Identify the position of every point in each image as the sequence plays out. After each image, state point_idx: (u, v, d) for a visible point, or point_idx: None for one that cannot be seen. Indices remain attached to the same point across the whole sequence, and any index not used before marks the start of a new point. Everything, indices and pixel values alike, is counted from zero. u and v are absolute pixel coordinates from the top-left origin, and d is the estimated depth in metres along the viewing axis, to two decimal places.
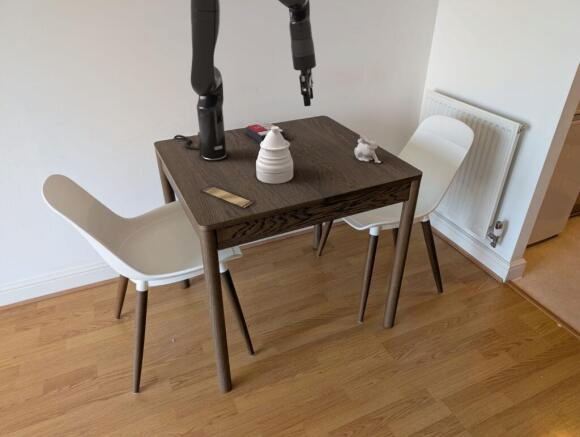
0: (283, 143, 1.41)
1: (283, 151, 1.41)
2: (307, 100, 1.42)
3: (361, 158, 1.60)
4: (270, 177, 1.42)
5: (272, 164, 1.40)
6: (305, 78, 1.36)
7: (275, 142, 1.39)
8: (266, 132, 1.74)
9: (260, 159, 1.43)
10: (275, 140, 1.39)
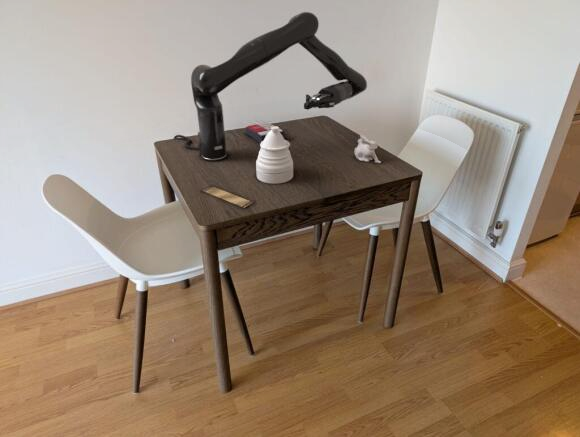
0: (283, 143, 1.41)
1: (283, 151, 1.41)
2: (312, 106, 1.51)
3: (361, 158, 1.60)
4: (270, 177, 1.42)
5: (272, 164, 1.40)
6: (332, 105, 1.54)
7: (275, 142, 1.39)
8: (266, 132, 1.74)
9: (260, 159, 1.43)
10: (275, 140, 1.39)
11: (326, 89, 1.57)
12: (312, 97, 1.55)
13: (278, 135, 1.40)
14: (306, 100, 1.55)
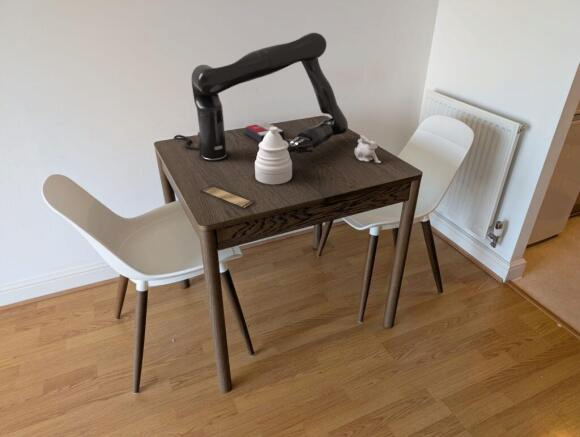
0: (282, 144, 1.40)
1: (282, 152, 1.40)
2: (290, 151, 1.50)
3: (361, 158, 1.60)
4: (269, 178, 1.42)
5: (271, 164, 1.40)
6: (310, 150, 1.52)
7: (274, 143, 1.39)
8: (266, 132, 1.74)
9: (259, 160, 1.42)
10: (274, 141, 1.39)
11: (305, 132, 1.56)
12: (290, 141, 1.53)
13: (277, 136, 1.39)
14: None
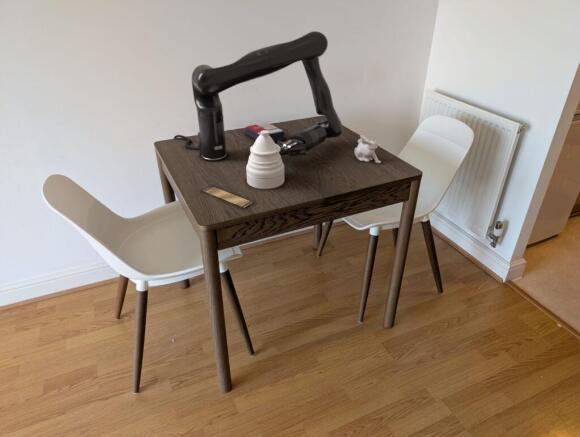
0: (273, 148, 1.37)
1: (273, 156, 1.37)
2: (282, 155, 1.47)
3: (361, 158, 1.60)
4: (260, 182, 1.39)
5: (262, 169, 1.37)
6: (303, 153, 1.49)
7: (265, 147, 1.36)
8: None
9: (250, 164, 1.39)
10: (265, 145, 1.36)
11: (298, 135, 1.53)
12: (283, 144, 1.50)
13: (268, 139, 1.36)
14: None
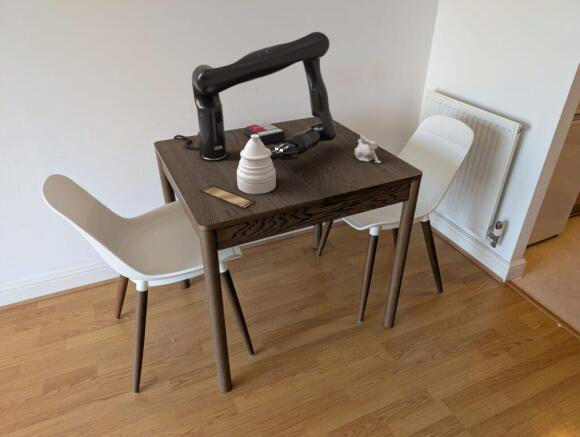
0: (264, 152, 1.34)
1: (264, 160, 1.34)
2: (274, 159, 1.43)
3: (361, 158, 1.60)
4: (250, 187, 1.36)
5: (252, 173, 1.34)
6: (296, 157, 1.45)
7: (255, 151, 1.33)
8: (266, 132, 1.74)
9: (240, 168, 1.36)
10: (255, 149, 1.33)
11: (290, 139, 1.49)
12: (275, 148, 1.47)
13: (258, 144, 1.33)
14: None
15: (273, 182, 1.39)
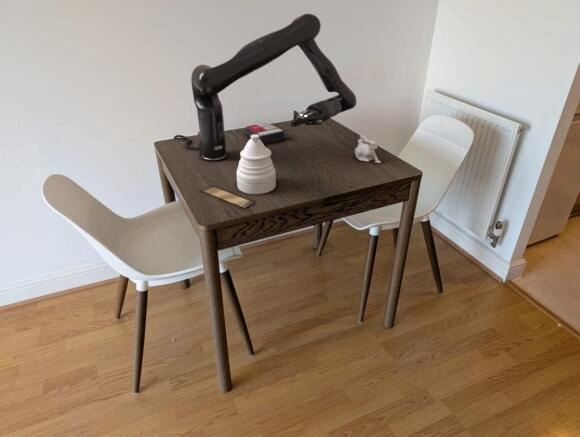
0: (264, 152, 1.34)
1: (263, 160, 1.34)
2: (299, 123, 1.49)
3: (361, 158, 1.60)
4: (250, 187, 1.36)
5: (252, 174, 1.34)
6: (320, 123, 1.51)
7: (255, 151, 1.33)
8: (265, 132, 1.74)
9: (240, 168, 1.36)
10: (255, 149, 1.33)
11: (314, 106, 1.55)
12: (300, 114, 1.52)
13: (258, 144, 1.33)
14: (293, 117, 1.52)
15: (273, 182, 1.39)
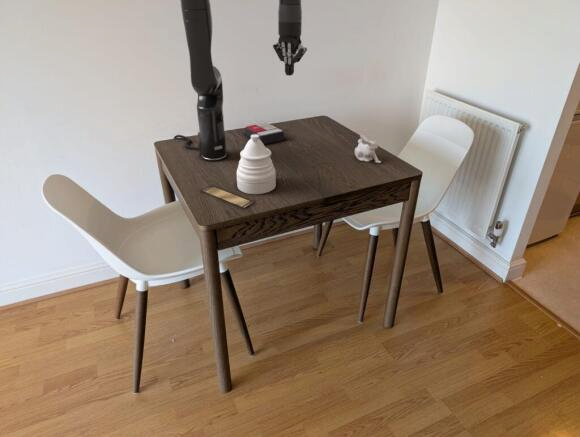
0: (264, 152, 1.34)
1: (263, 160, 1.34)
2: (293, 69, 1.44)
3: (361, 158, 1.60)
4: (250, 187, 1.36)
5: (252, 174, 1.34)
6: (305, 51, 1.39)
7: (255, 151, 1.33)
8: (265, 132, 1.74)
9: (240, 168, 1.36)
10: (255, 149, 1.33)
11: (284, 36, 1.37)
12: (283, 56, 1.42)
13: (258, 144, 1.33)
14: None
15: (273, 182, 1.39)
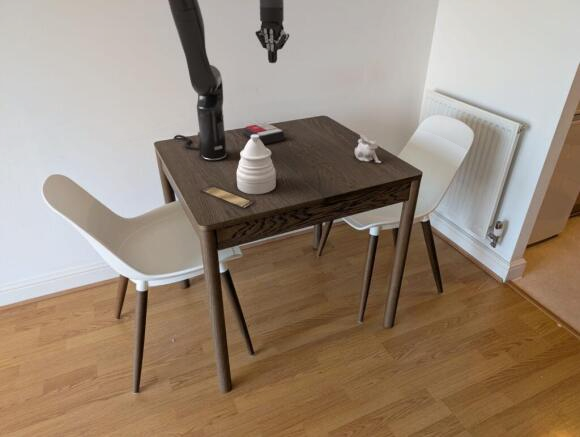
0: (264, 152, 1.34)
1: (263, 160, 1.34)
2: (276, 56, 1.41)
3: (361, 158, 1.60)
4: (250, 187, 1.36)
5: (252, 174, 1.34)
6: (287, 37, 1.36)
7: (255, 151, 1.33)
8: (265, 132, 1.74)
9: (240, 168, 1.36)
10: (255, 149, 1.33)
11: (265, 22, 1.34)
12: (265, 43, 1.39)
13: (258, 144, 1.33)
14: (264, 47, 1.42)
15: (273, 182, 1.39)
